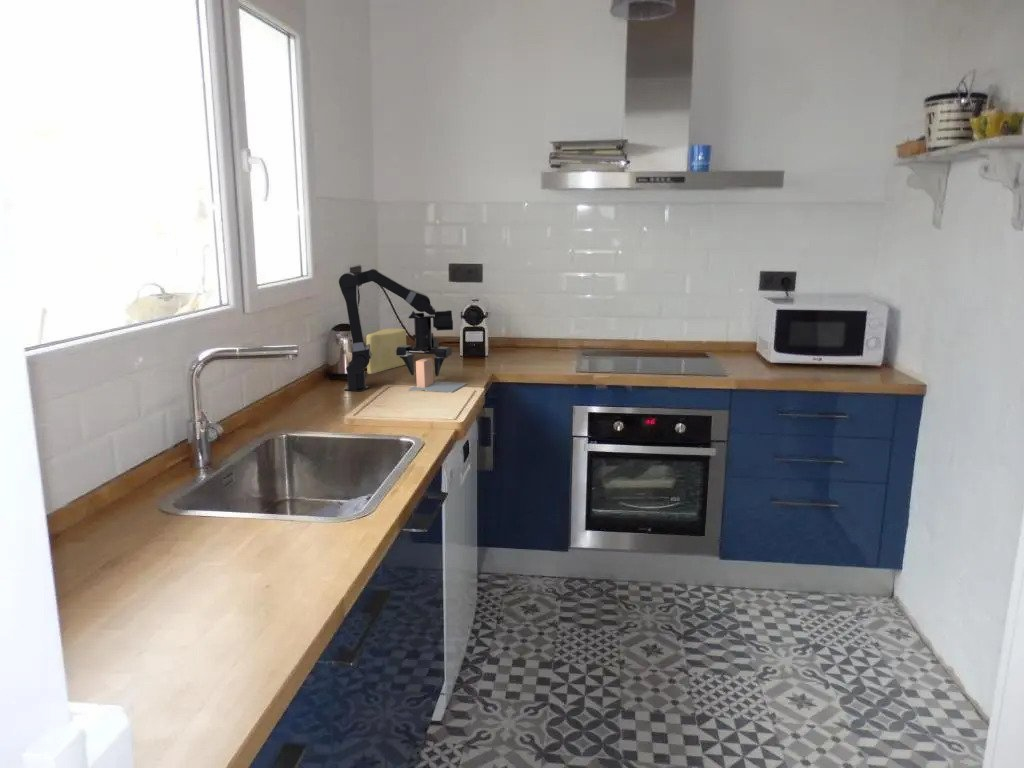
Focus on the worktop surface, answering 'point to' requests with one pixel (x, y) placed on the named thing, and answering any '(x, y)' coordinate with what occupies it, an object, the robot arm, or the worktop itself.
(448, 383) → the mat
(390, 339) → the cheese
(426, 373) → the slab
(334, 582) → the worktop surface
